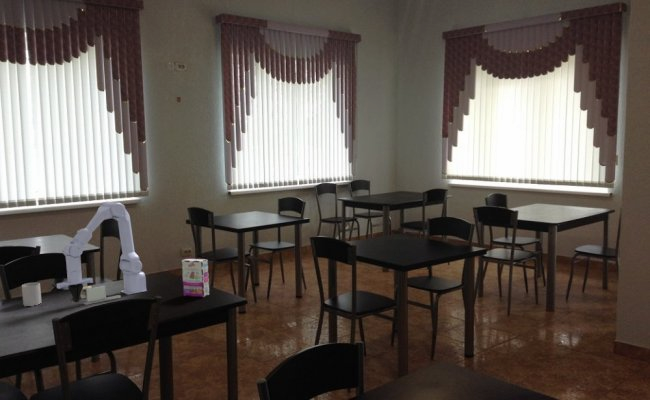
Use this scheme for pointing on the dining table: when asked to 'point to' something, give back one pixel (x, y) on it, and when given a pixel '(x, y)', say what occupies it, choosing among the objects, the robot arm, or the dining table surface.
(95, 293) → the grey flat block
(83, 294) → the letter block
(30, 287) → the cup
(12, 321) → the dining table surface
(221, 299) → the dining table surface
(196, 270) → the candy bar box
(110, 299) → the rail
